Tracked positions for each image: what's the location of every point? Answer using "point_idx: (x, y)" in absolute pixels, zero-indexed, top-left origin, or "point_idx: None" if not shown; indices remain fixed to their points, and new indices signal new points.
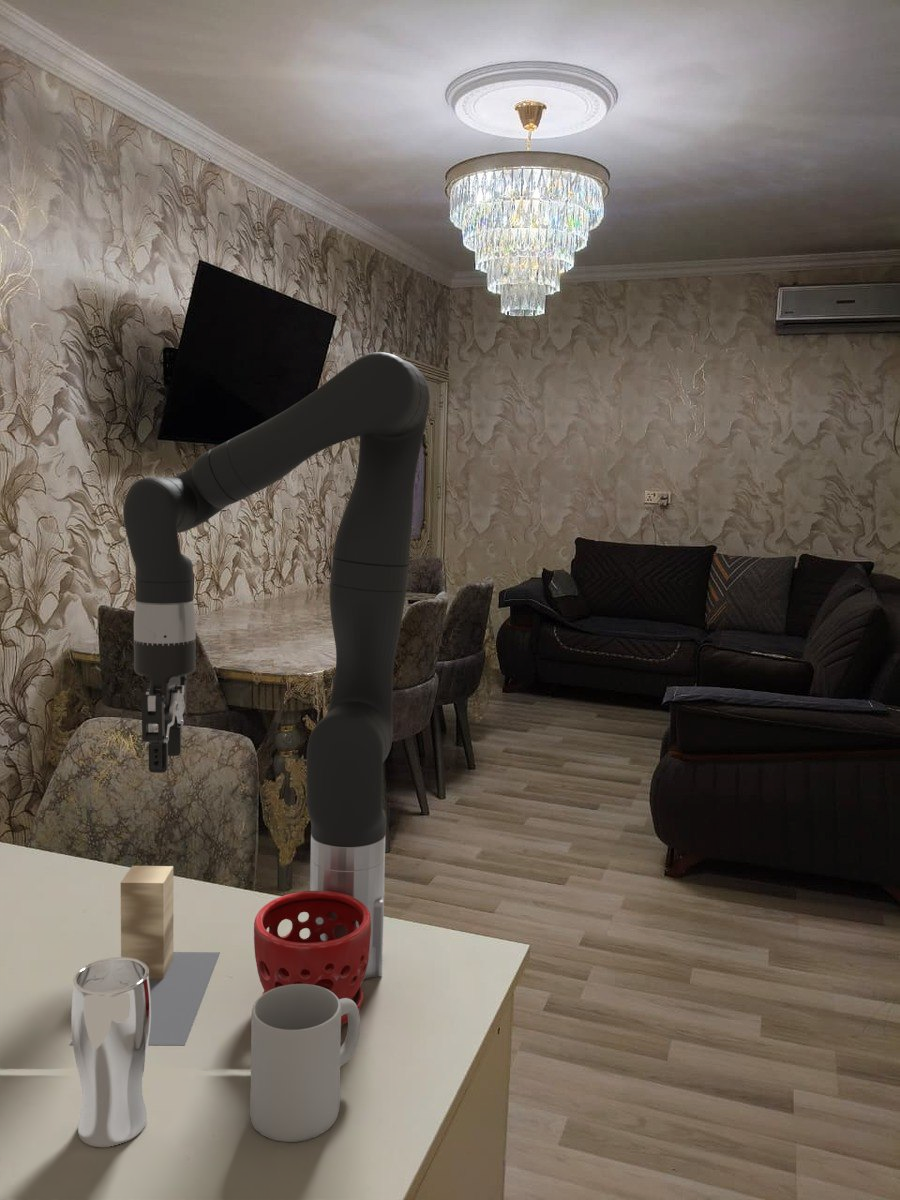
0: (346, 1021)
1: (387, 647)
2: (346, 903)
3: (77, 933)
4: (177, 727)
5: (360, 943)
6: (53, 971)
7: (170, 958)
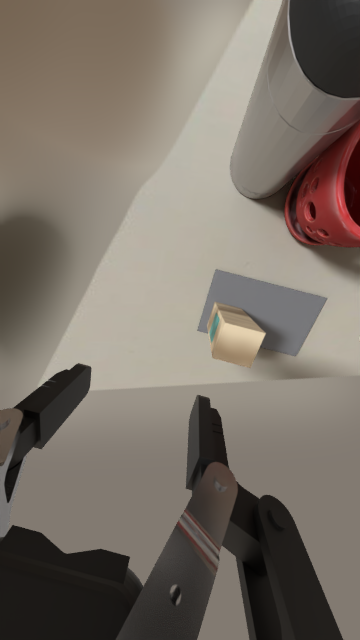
0: None
1: None
2: None
3: (161, 354)
4: (32, 420)
5: None
6: (206, 365)
7: (223, 304)
